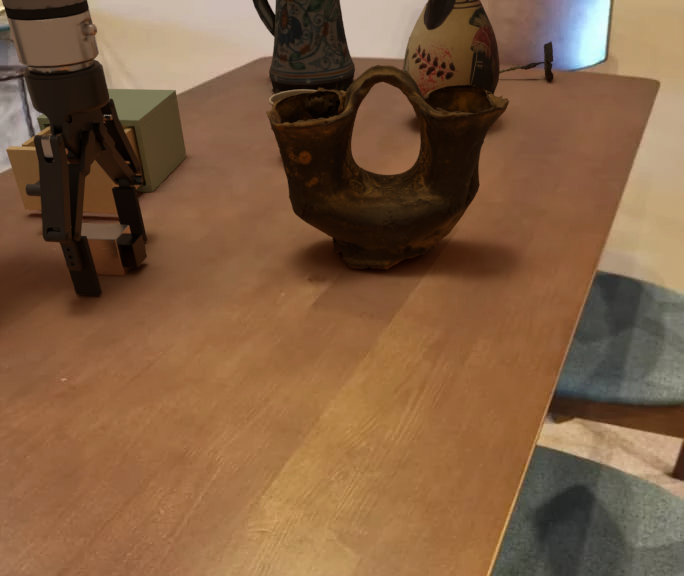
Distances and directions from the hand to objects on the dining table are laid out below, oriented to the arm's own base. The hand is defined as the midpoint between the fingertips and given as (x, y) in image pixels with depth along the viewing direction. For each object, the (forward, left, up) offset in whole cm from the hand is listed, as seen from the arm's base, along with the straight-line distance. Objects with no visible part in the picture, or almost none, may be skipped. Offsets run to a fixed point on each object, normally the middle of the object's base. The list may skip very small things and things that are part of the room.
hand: (113, 265), depth 84 cm
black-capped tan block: (0, 0, 0) cm, 0 cm away
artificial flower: (+43, +84, 0) cm, 94 cm away
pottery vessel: (+31, +7, 0) cm, 32 cm away
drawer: (-11, +17, +1) cm, 20 cm away
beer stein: (+7, +77, 0) cm, 77 cm away
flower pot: (+15, +38, 0) cm, 41 cm away
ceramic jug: (+35, +56, 0) cm, 66 cm away
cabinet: (-11, +30, 0) cm, 32 cm away
